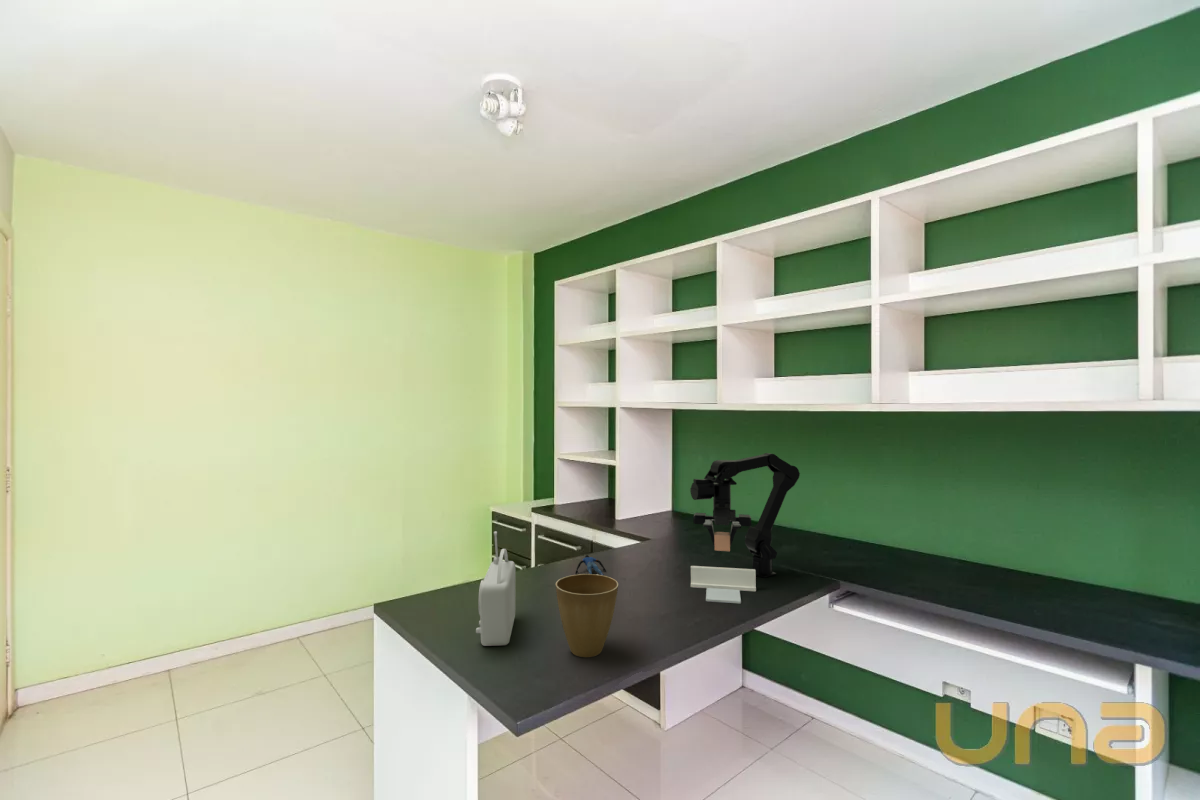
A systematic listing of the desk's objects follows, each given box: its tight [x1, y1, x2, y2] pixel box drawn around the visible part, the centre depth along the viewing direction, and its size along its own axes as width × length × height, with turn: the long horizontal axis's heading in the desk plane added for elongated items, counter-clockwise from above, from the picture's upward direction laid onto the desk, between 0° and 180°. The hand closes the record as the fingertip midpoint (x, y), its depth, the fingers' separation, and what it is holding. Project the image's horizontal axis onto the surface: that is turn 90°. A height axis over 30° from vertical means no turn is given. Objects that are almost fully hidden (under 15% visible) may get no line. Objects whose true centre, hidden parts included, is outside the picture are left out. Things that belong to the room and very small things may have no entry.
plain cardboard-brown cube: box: [714, 531, 731, 552], centre depth 182 cm, size 5×5×5 cm
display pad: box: [705, 588, 742, 604], centre depth 164 cm, size 10×10×1 cm
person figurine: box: [575, 554, 607, 576], centre depth 186 cm, size 11×4×18 cm
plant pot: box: [555, 573, 619, 658], centre depth 129 cm, size 15×15×16 cm
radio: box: [475, 530, 516, 647], centre depth 140 cm, size 22×8×25 cm, turn 4°
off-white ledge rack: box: [690, 565, 757, 592], centre depth 173 cm, size 4×20×6 cm, turn 78°
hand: (722, 545), depth 182 cm, fingers closed on plain cardboard-brown cube, 5 cm apart
